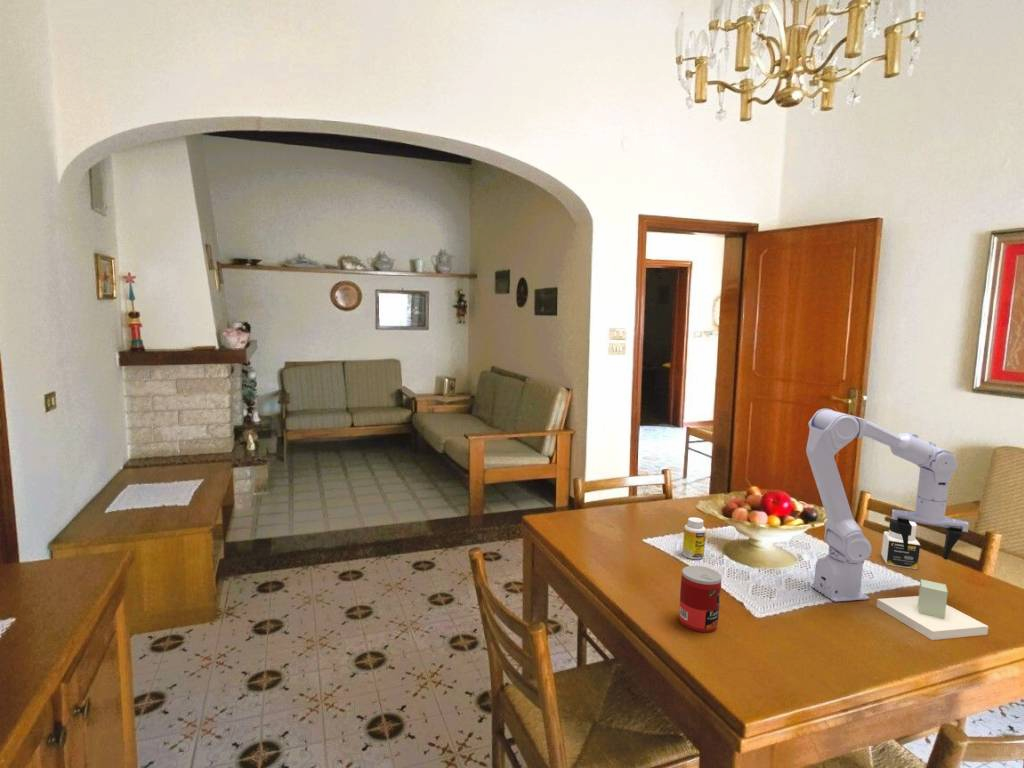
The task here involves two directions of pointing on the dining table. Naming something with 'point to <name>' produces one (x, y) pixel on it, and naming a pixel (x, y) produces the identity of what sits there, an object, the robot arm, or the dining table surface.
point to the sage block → (932, 599)
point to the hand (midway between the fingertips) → (924, 554)
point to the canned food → (699, 598)
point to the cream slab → (932, 619)
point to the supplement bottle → (694, 538)
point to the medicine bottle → (900, 547)
